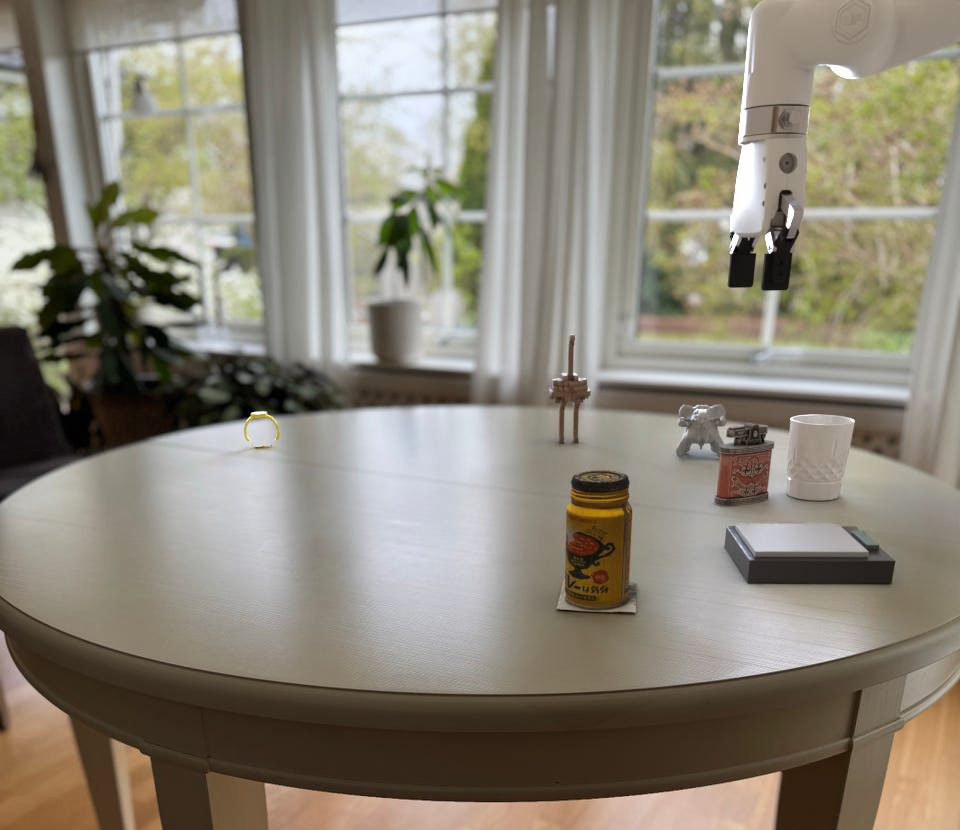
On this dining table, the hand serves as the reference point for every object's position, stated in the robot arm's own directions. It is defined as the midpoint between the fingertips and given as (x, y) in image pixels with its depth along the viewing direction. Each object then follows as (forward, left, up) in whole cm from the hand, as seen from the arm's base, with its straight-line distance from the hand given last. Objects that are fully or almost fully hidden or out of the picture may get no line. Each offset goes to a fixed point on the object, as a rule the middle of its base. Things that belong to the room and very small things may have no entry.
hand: (756, 288), depth 108 cm
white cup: (-10, -1, -26) cm, 28 cm away
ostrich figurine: (+22, -43, -26) cm, 55 cm away
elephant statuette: (+1, -28, -26) cm, 38 cm away
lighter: (0, +2, -26) cm, 26 cm away
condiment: (+21, +38, -26) cm, 51 cm away
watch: (+75, -35, -26) cm, 86 cm away
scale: (-1, +28, -26) cm, 38 cm away
